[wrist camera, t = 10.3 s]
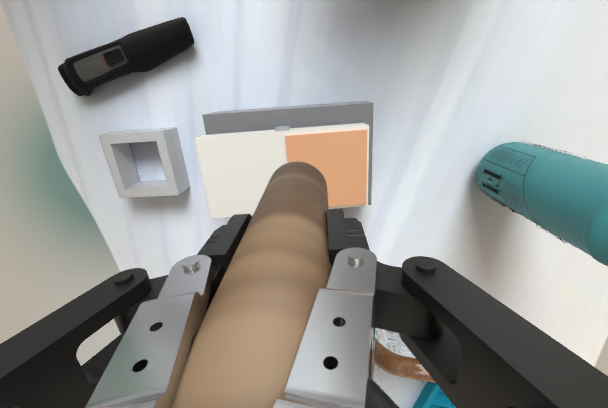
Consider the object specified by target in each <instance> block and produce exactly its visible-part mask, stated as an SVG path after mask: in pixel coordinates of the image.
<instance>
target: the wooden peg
mask: <svg viewBox="0 0 608 408" xmlns="http://www.w3.org/2000/svg"><path fill="white" fill-rule="evenodd" d="M327 209H329V206H328V192H327V184H326V180H325V178H324V176H323V175H322V173H321V172H320V171H319V170H318V169H317V168H315V167H314V166H312V165H311V164H308V163H305V162H290V163H286V164H284V165H282V166H280V167H279V168H278V169H277V170H276V171H275V172H274V173H273V175H272V176H271V178H270V181H269V183H268V185H267V187H266V189H265V191H264V193H263V195H262V197H261V199H260V201H259V204H258V206H257V208H256V210H255V212H254V214H253V216H252V218H251V220H250V222H249V224H248V227H247V229H246V231H245V233H244V235H243V237H242V239H241V241H240V243H239V245H238V248H237V250H236V252H235V254H234V256H233V258H232V260H231V262H230V264H229V266H228V268H227V271H226V273H225V275H224V277H223V279H222V281H221V283H220V285H219V287H218V289H217V292H216V294H215V296H214V298H213V300H212V302H211V304H210V306H209V308H208V310H207V312H206V315H205V317H204V319H203V321H202V323H201V325H200V328H199V330H198V332H197V334H196V336H195V338H194V340H193V342H192V345H191V347H190V350H189V354H188V358H187V362H186V366H185V369H184V372H183V375H182V378H181V381H180V384H179V387H178V390H177V393H176V396H175V400H174V403H173V406H172V408H273V406H274V404H275V402H276V400H277V399H278V397H279V396H280V395H281V394H282V393H283V392H284V390H285V388H286V385H287V382H288V380H289V377H290V374H291V371H292V368H293V365H294V362H295V359H296V356H297V353H298V350H299V347H300V344H301V341H302V338H303V335H304V332H305V329H306V327H307V324H308V321H309V318H310V315H311V312H312V309H313V306H314V303H315V300H316V297H317V294H318V291H319V289H320V288H321V287H323V288H326V287H327V284H328V281H329V277H330V274H331V271H332V266H331V264H330V258H329V242H328V224H327Z"/></svg>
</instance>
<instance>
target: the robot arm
mask: <svg viewBox="0 0 608 408" xmlns="http://www.w3.org/2000/svg"><path fill="white" fill-rule="evenodd" d="M251 218H252V217H251V215H250V214H235V215H233V216H232V218H231V219H230V220H229V222H228V223H227V225H223V226H221V227H220V228H218V229H217V230H215V231H214V232H213V234H212V235H211V236H210V238H209V239H208V240H207V243H205V245H204V246H203V247H202V249H201V250H200V251H199V253H198V254H197V255H194V256H190V257H187V258H184V259H182V260H180V261H179V262H177V263H176V264H175V265H174V266H173V267H172V268H171V270H170V273H169V275H166V276H162V277H158V278H153V279H149V276H148V274H147V271H146V270H145V269H141V268H135V269H129V270H125V271H122V272H120V273H118V274H116V275H114V276H112V277H110V278H109V279H107V280H105V281H104V282H102V283H101V284H99V285H97V286H95V287H94V288H92V289H90V290H89V291H87V292H86V293H84V294H82V295H81V296H79V297H77V298H76V299H74V300H72V301H71V302H69V303H67V304H66V305H64V306H62V307H61V308H59V309H58V310H56V311H54V312H53V313H51V314H49V315H48V316H46V317H44V318H43V319H41V320H39V321H38V322H36V323H34V324H33V325H31V326H29V327H28V328H26V329H25V330H23V331H21V332H20V333H18V334H16V335H15V336H13V337H11V338H10V339H8V340H7V341H5V342H3V343H1V344H0V408H172V406H173V403H174V400H175V396H176V393H177V390H178V387H179V384H180V381H181V378H182V375H183V372H184V369H185V366H186V362H187V358H188V354H189V350H190V347H191V345H192V342H193V340H194V338H195V336H196V334H197V332H198V330H199V328H200V325H201V323H202V321H203V319H204V317H205V315H206V312H207V310H208V308H209V306H210V304H211V302H212V300H213V298H214V296H215V294H216V292H217V289H218V287H219V285H220V283H221V281H222V279H223V277H224V275H225V273H226V271H227V268H228V266H229V264H230V262H231V260H232V258H233V256H234V254H235V252H236V250H237V248H238V245H239V243H240V241H241V239H242V237H243V235H244V233H245V231H246V229H247V227H248V224H249V222H250V220H251ZM327 224H328V242H329V258H330V264H331V266H332V271H331V274H330V277H329V281H328V284H327V287H326V288H323V287H321V288H320V289H319V291H318V294H317V297H316V300H315V303H314V306H313V309H312V312H311V315H310V318H309V321H308V324H307V327H306V329H305V332H304V335H303V338H302V341H301V344H300V347H299V350H298V353H297V356H296V359H295V362H294V365H293V368H292V371H291V374H290V377H289V380H288V382H287V385H286V388H285V390H284V392H283V393H282V394H281V395H280V396H279V397H278V399H277V400H276V402H275V404H274V406H273V408H399V407H398V406H397V405H396V404H395V403H394V402H393V401H392V400H391V398H390V397H389V396H388V395H387V394H386V393H385V392H384V391H383V390H382V389H381V388H380V387H379V386H378V385H377V384H376V383H375V382H374V381H373V367H374V349H375V331H376V328H379V329H383V330H387V331H391V332H396V333H399V336H400V338H401V340H402V341H403V343H404V344H405V345H406V346H407V348H408V349H409V350H410V351H411V353H412V354H413V355H414V356H415V357H416V359H417V360H418V361H419V362H420V364H421V365H422V366H423V367H424V369H425V370H426V371H427V372H428V374H429V375H430V376H431V377H432V379H433V380H434V381H435V382H436V383H437V385H438V386H439V387H440V388H441V390H442V391H443V392H444V393H445V395H446V396H447V397H448V398H449V400H450V401H451V402H452V403H453V405H454V406H455V407H456V408H608V376H606V375H605V374H604V373H602V372H601V371H599V370H598V369H596V368H595V367H593V366H592V365H591V364H589V363H588V362H586V361H585V360H583V359H582V358H580V357H579V356H577V355H576V354H575V353H573V352H572V351H570V350H569V349H567V348H566V347H564V346H563V345H562V344H560V343H559V342H557V341H556V340H554V339H553V338H551V337H550V336H549V335H547V334H546V333H544V332H543V331H541V330H540V329H538V328H537V327H536V326H534V325H533V324H531V323H530V322H528V321H527V320H525V319H524V318H522V317H521V316H520V315H518V314H517V313H515V312H514V311H512V310H511V309H509V308H508V307H507V306H505V305H504V304H502V303H501V302H499V301H498V300H496V299H495V298H494V297H492V296H491V295H489V294H488V293H486V292H485V291H483V290H482V289H481V288H479V287H478V286H476V285H475V284H473V283H472V282H470V281H469V280H468V279H466V278H465V277H463V276H462V275H460V274H459V273H457V272H456V271H454V270H453V269H452V268H450V267H449V266H447V265H446V264H444V263H443V262H441V261H439V260H437V259H434V258H430V257H423V256H417V257H411V258H409V259H407V260H405V261H404V262H403V265H402V268H401V267H394V266H389V265H385V264H382V263H380V262H378V261H377V258H376V255H375V254H374V253H373V252H371V251H370V250H369V246H368V243H367V240H366V237H365V234H364V230H363V227H362V224H361V222H359V221H358V220H357V219H355V218H346V219H344V214H343V209H342V208H339V209H327ZM112 319H115V322H116V324H117V326H118V328H119V331H120V333H121V335H119V336H118V337H117V338H116V339H115V340H113V341H112V342H111V343H109V345H107V346H106V347H105V348H103V349H102V350H101V351H100V352H98V353H97V354H96V355H95V356H93V357H92V358H91V359H90V360H88V361H87V362H86V363H85V364H83V365H82V366H81V365H80V364H79V362H78V360H77V358H76V352H77V349H78V347H79V346H80V344H81V343H82V342H83V341H84V340H85V339H86V338H88V337H89V336H90V335H92V334H93V333H95V332H96V331H97V330H99V329H100V328H101V327H103V326H104V325H105V324H107V323H108V322H109V321H111V320H112Z"/></svg>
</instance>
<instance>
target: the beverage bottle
mask: <svg viewBox="0 0 608 408" xmlns="http://www.w3.org/2000/svg"><path fill="white" fill-rule="evenodd" d="M527 143H528V142H527ZM530 144H531V143H530ZM533 145H535V144H533ZM533 145H529V144H525V143H520V142H511V143H506V144H502V145H499V146H497V147H495V148H493V149H492V150H490V151H489V152H488V153H487V154H486V155H485V156H484V157H483V158H482V160H481V161H480V163H479V165H478V168H477V172H476V178H477V182H478V184H479V186H480V187H479V188H481V189H482V191H484V192H485V193H486V194H487V195H489V196H490V197H491V198H492V199H493V200H494V201H495V200H496V201H497V202H498V201H499V204H501V203H502V204H504V205H505V206H507V207H509V209H511V210H512V211H513V212H515V211H516V213H519V214H521V215H522V216H524V217H526V218H527V219H529V220H531V221H532V222H534V223H536V225H539V226H541V227H542V228H541V229H546V231H549V232H550V233H552V234H553V236H554V235H556V236H557V237H559V238H560V240H562V239H563V240H565V241H566V242H568V243H570V244H572V245H574V246H575V247H577V248H579V249H580V250H582V251H584V252H585V253H587V254H589V255H591V256H592V257H593V258H594V259H595V260H597V261H598V262H600V263H602V264H604V265H607V266H608V165H607V164H603V163H599V162H595V161H591V160H590V159H589V160H587V159H588V158H587V159H583V158H580V157H577V156H574V155H570V154H566V153H562V152H557V151H553V150H552V149H553V148H552V149H551V148H549V149H545V148H541V147H540V146H541V145H537V146H539V147H537V146H533ZM542 147H543V146H542ZM546 148H548V147H546ZM550 149H551V150H550ZM554 150H555V149H554ZM558 151H559V150H558ZM577 155H578V154H577ZM500 202H501V203H500ZM502 204H501V205H502ZM504 205H503V206H504ZM505 206H504V207H505ZM537 227H538V226H537ZM538 228H539V227H538ZM549 232H548V233H549ZM559 238H558V239H559ZM556 239H557V238H556ZM563 240H562V241H563ZM565 241H564V243H565Z"/></svg>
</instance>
